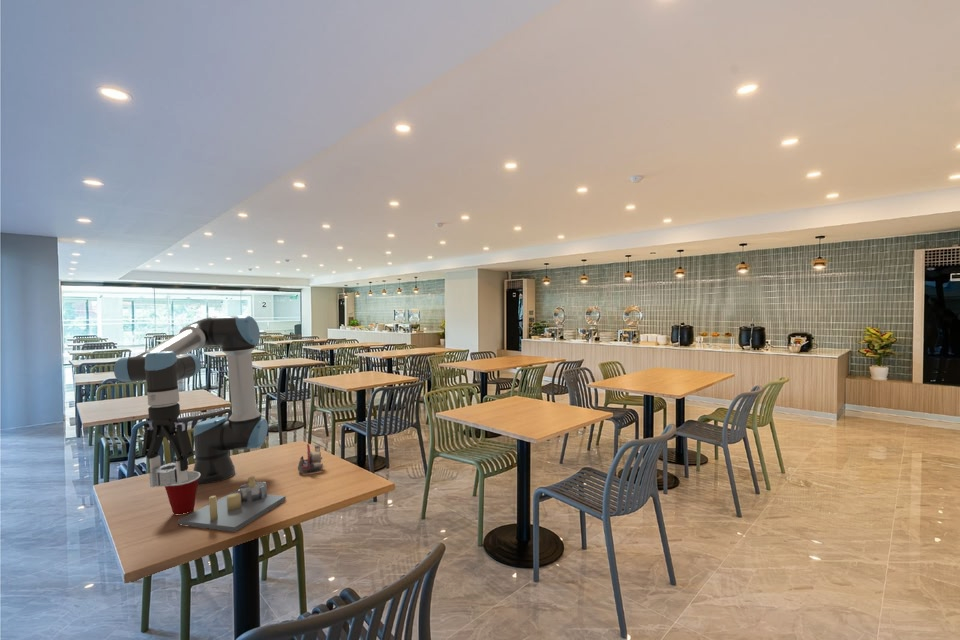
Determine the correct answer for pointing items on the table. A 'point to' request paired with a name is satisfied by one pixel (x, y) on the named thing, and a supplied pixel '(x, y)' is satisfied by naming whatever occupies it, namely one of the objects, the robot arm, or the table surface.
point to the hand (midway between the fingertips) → (169, 480)
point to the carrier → (231, 511)
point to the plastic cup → (183, 494)
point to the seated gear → (252, 492)
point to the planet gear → (163, 475)
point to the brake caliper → (311, 461)
